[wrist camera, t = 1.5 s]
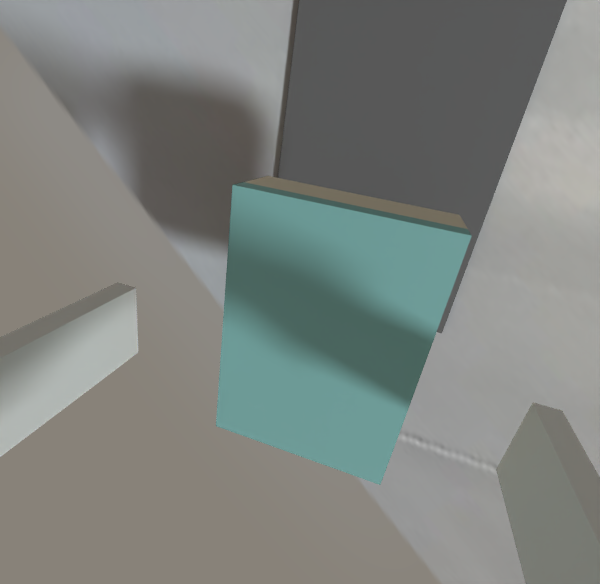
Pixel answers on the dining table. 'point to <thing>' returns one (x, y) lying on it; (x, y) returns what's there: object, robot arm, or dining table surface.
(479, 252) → the dining table surface
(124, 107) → the dining table surface
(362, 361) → the two-tone tile
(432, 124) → the mat
